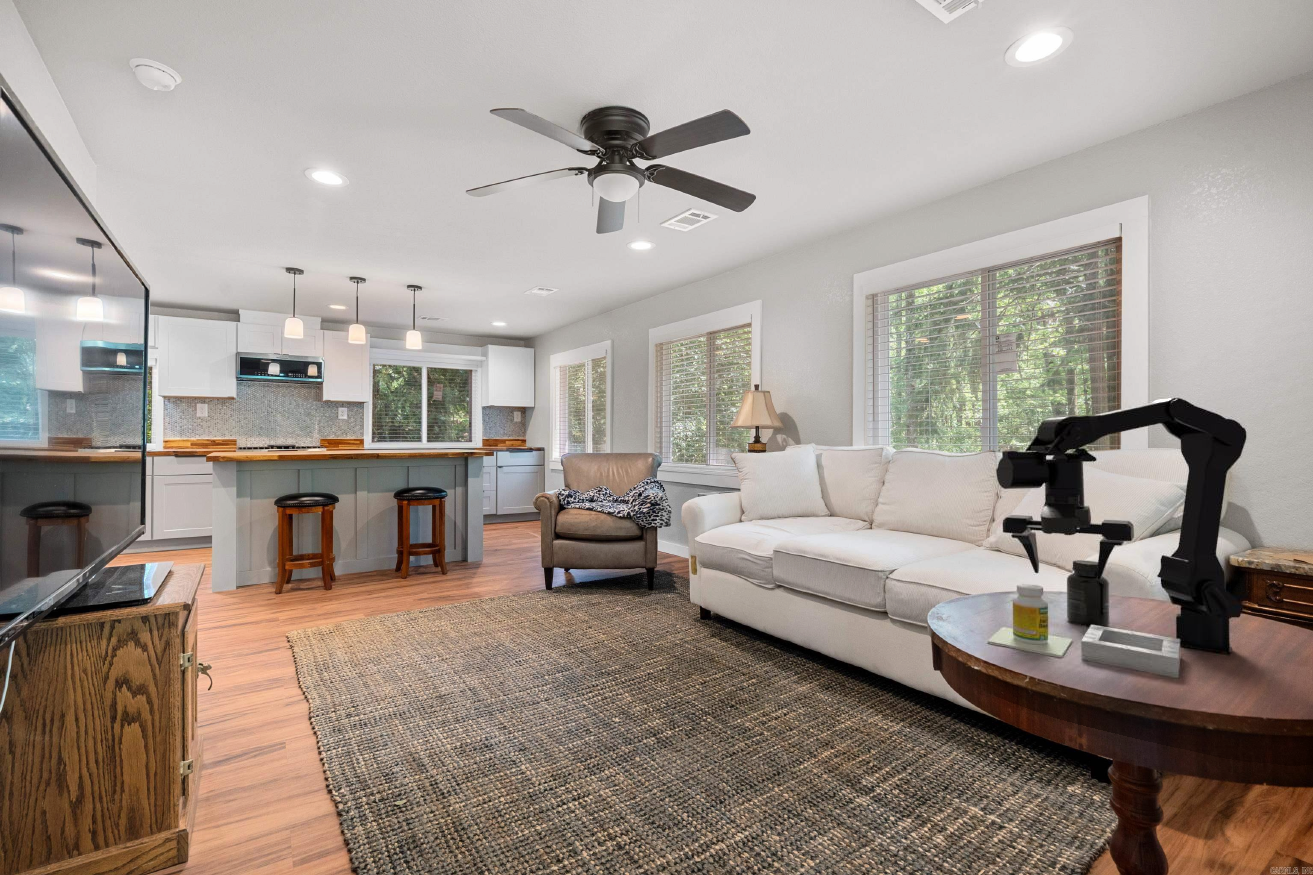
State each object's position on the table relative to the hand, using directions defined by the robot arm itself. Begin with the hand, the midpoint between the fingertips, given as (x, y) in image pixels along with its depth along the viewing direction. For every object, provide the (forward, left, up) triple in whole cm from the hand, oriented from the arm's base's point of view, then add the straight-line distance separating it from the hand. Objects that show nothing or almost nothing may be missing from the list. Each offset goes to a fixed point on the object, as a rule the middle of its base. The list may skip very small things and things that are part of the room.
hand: (1067, 576), depth 107 cm
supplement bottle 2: (-1, -17, -12) cm, 21 cm away
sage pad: (+5, +4, -12) cm, 13 cm away
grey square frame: (-9, +2, -12) cm, 15 cm away
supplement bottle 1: (+5, +4, -12) cm, 13 cm away
